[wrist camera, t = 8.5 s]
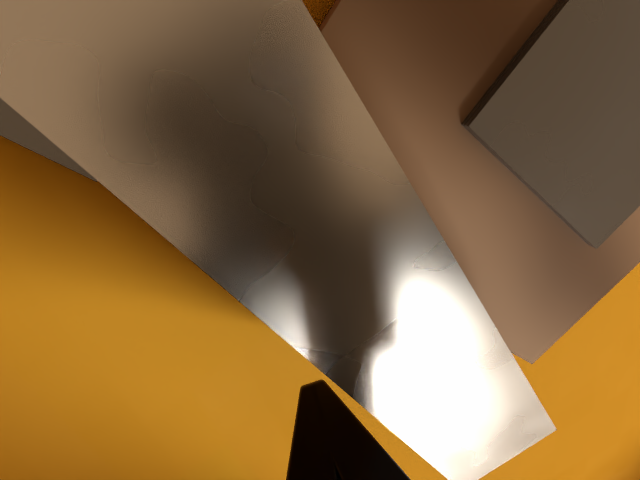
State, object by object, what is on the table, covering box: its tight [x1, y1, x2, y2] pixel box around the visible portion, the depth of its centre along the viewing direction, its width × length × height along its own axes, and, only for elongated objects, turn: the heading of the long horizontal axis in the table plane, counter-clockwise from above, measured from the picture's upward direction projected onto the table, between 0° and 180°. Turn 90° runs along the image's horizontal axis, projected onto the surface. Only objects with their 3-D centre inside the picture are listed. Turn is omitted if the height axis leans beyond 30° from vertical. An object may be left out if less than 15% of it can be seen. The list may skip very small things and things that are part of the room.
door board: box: [319, 0, 640, 364], centre depth 9 cm, size 9×12×1 cm
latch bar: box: [0, 0, 557, 480], centre depth 6 cm, size 16×3×2 cm, turn 35°
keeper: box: [461, 0, 640, 249], centre depth 8 cm, size 5×6×1 cm
